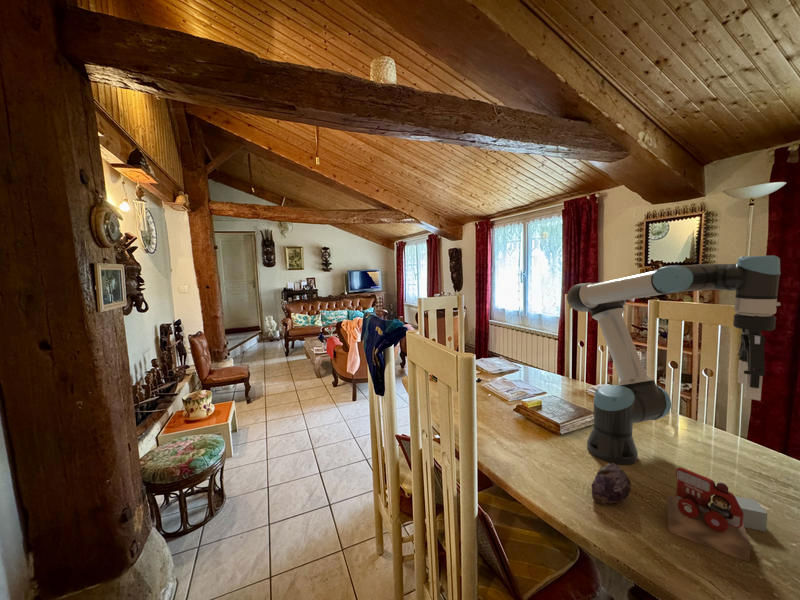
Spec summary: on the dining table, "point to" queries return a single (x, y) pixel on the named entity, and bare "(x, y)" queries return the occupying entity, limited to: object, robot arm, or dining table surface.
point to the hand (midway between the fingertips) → (748, 390)
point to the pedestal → (707, 532)
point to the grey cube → (752, 514)
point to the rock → (610, 485)
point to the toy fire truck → (707, 500)
